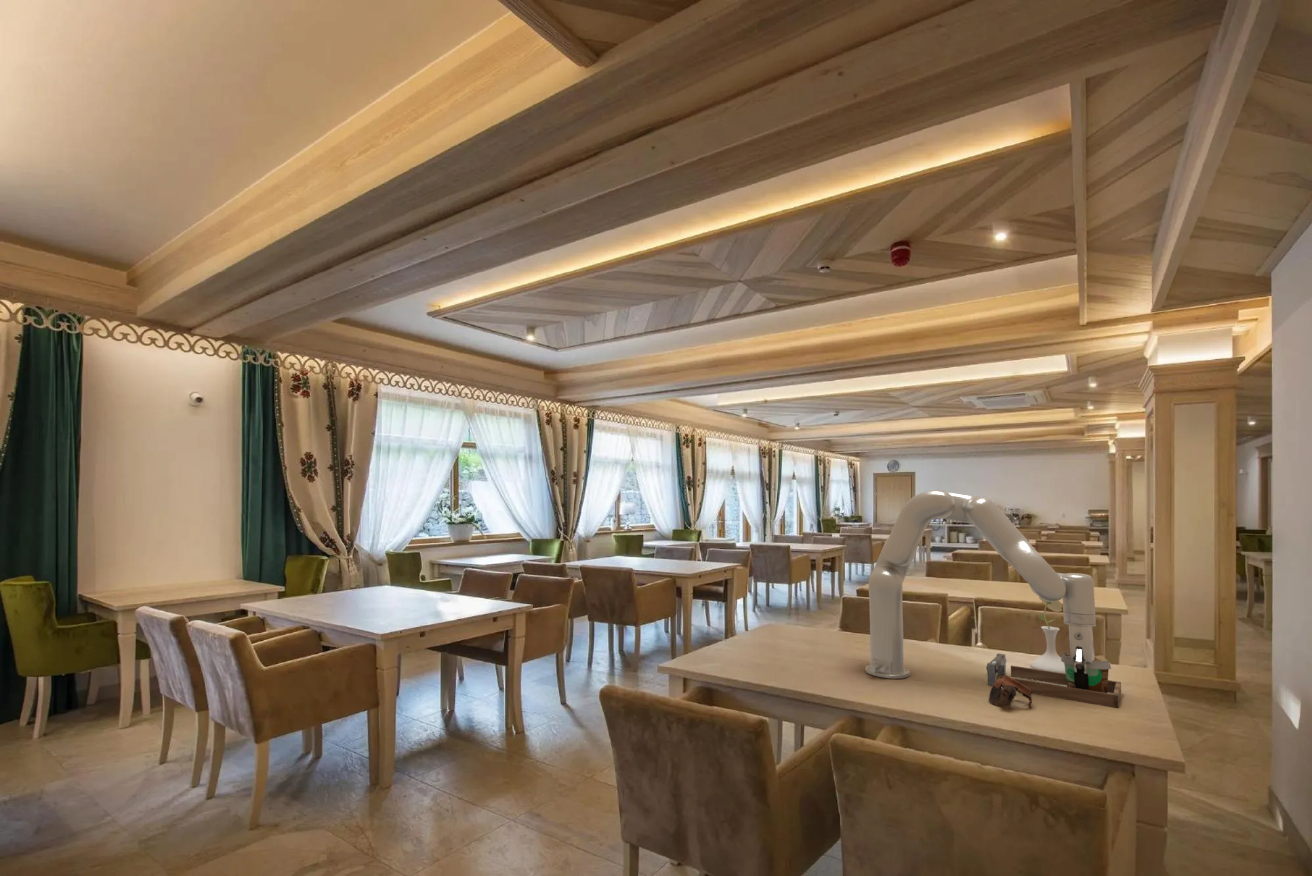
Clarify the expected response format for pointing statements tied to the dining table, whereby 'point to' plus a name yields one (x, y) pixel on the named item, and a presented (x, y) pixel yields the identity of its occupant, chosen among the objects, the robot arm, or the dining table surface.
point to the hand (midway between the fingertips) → (1082, 684)
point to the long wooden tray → (1065, 691)
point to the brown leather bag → (1008, 691)
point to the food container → (1095, 673)
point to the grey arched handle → (996, 668)
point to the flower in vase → (1050, 644)
